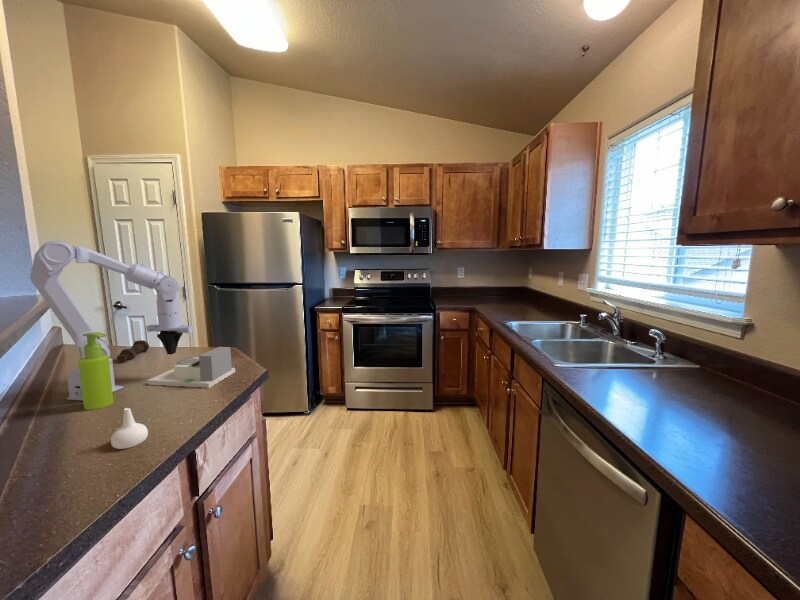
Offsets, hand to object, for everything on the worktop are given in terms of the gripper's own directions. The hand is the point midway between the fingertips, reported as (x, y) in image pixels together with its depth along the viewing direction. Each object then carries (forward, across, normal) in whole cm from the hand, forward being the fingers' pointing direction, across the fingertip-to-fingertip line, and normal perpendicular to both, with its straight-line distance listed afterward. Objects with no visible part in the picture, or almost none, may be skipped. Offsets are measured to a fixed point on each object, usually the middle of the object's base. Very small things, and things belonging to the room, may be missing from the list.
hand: (171, 353), depth 107 cm
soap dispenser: (+8, +4, +21) cm, 23 cm away
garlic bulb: (+8, -19, +36) cm, 42 cm away
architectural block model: (+8, -7, 0) cm, 11 cm away
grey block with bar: (+6, -8, 0) cm, 10 cm away
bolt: (+9, +31, -17) cm, 36 cm away
